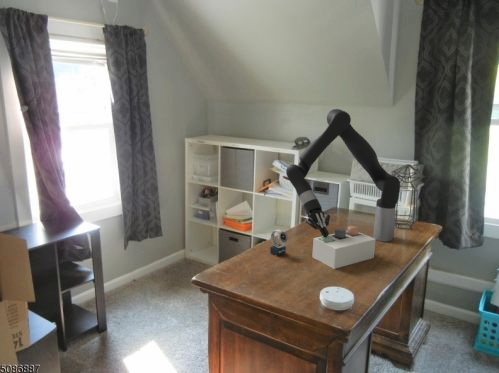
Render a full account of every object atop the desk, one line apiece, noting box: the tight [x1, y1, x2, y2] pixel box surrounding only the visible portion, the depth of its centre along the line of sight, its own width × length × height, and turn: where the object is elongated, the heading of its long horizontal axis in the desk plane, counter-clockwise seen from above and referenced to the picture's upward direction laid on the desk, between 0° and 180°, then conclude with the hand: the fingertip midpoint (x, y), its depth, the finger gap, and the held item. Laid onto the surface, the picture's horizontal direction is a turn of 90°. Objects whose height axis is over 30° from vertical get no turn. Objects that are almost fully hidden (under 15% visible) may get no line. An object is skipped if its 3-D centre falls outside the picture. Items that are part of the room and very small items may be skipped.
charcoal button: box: [333, 227, 347, 240], centre depth 186 cm, size 5×5×4 cm
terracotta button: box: [346, 225, 360, 237], centre depth 190 cm, size 5×5×4 cm
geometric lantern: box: [390, 164, 426, 230], centre depth 227 cm, size 16×16×35 cm
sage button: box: [320, 235, 332, 243], centre depth 182 cm, size 5×5×4 cm
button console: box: [311, 230, 377, 270], centre depth 185 cm, size 24×14×9 cm, turn 122°
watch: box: [269, 229, 288, 257], centre depth 187 cm, size 6×8×11 cm
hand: (326, 236), depth 182 cm, fingers closed
